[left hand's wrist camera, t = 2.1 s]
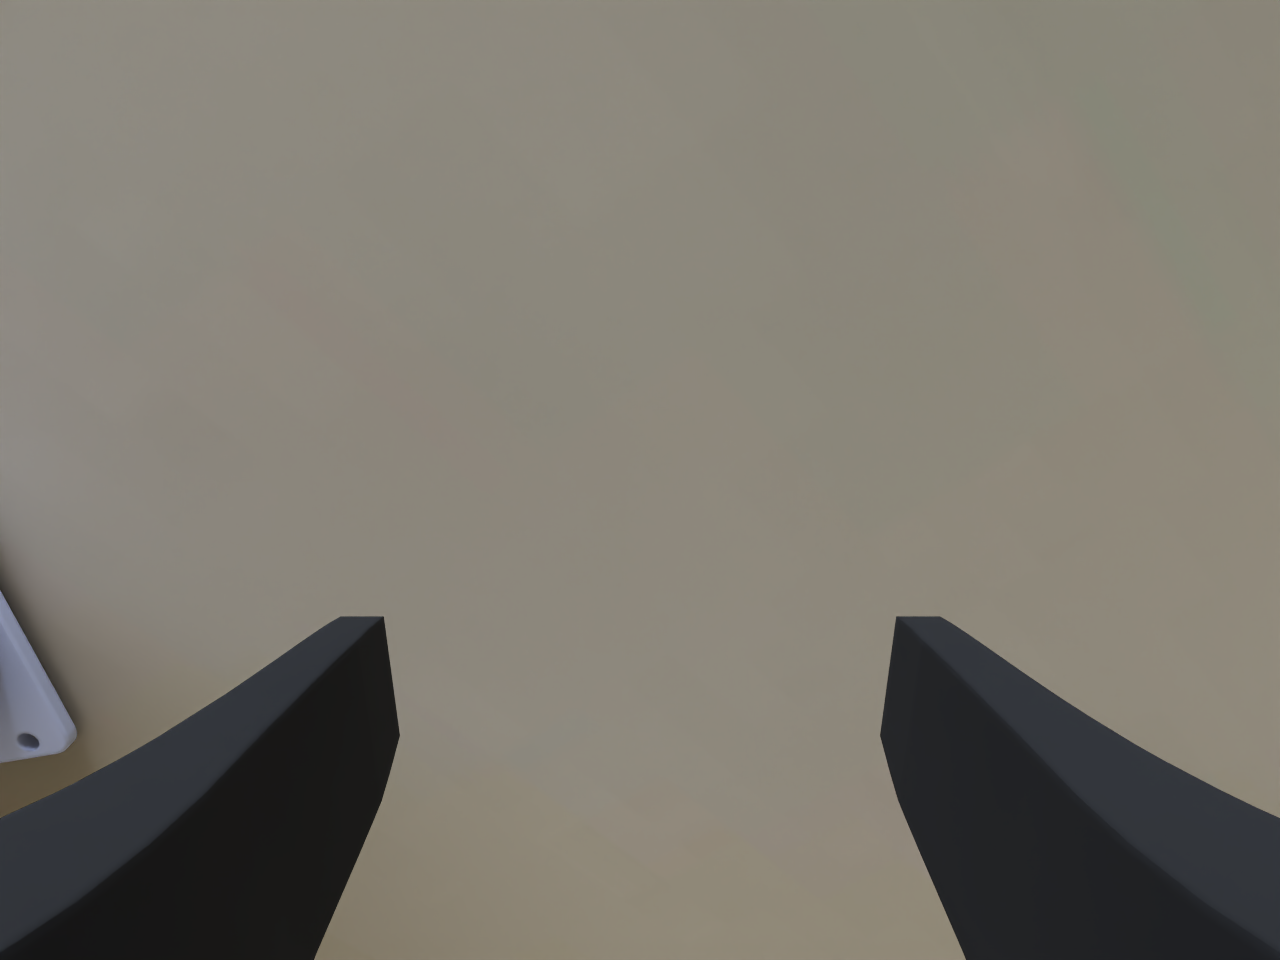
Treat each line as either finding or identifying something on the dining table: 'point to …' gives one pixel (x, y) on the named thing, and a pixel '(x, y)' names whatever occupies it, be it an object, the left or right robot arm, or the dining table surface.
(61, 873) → the left robot arm
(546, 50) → the dining table surface
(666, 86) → the dining table surface
